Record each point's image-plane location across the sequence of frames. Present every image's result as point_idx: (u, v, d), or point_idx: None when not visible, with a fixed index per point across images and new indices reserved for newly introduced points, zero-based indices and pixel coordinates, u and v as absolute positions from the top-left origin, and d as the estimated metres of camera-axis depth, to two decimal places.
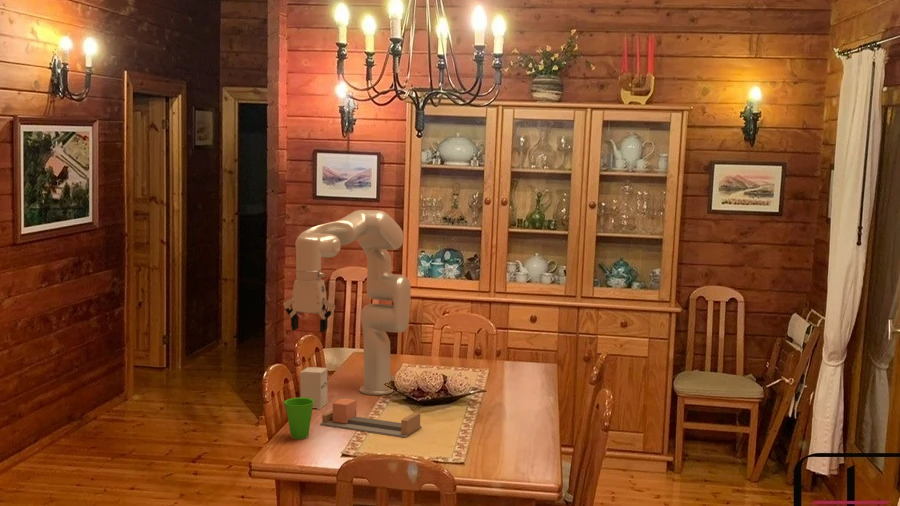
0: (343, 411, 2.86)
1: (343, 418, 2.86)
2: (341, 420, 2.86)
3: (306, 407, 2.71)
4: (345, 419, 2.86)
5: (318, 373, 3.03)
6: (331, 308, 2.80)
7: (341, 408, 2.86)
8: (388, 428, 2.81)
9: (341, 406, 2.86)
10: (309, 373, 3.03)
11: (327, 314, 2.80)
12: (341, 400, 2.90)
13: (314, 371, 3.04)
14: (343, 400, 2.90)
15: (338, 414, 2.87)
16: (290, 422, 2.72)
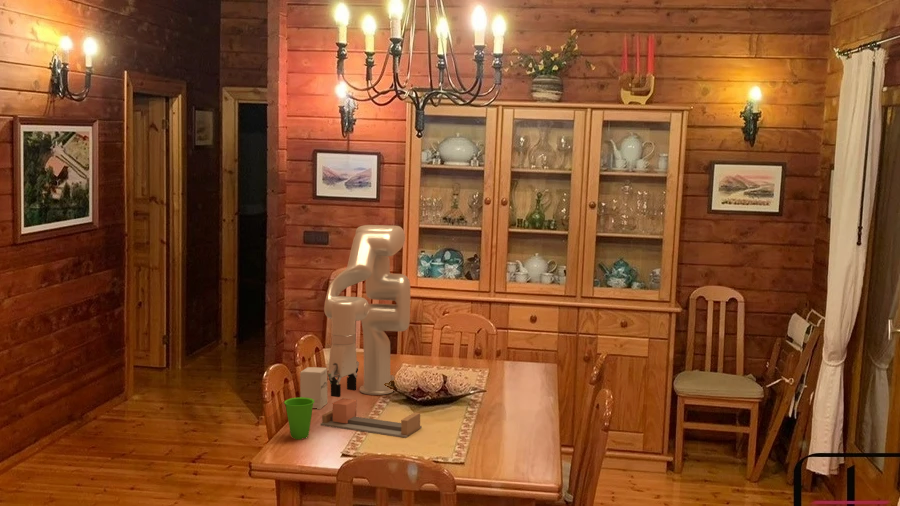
0: (343, 411, 2.86)
1: (343, 418, 2.86)
2: (341, 420, 2.86)
3: (306, 407, 2.71)
4: (345, 419, 2.86)
5: (318, 373, 3.03)
6: (357, 365, 2.94)
7: (341, 408, 2.86)
8: (388, 428, 2.81)
9: (341, 406, 2.86)
10: (309, 373, 3.03)
11: (356, 371, 2.93)
12: (341, 400, 2.90)
13: (314, 371, 3.04)
14: (343, 400, 2.90)
15: (338, 414, 2.87)
16: (290, 422, 2.72)
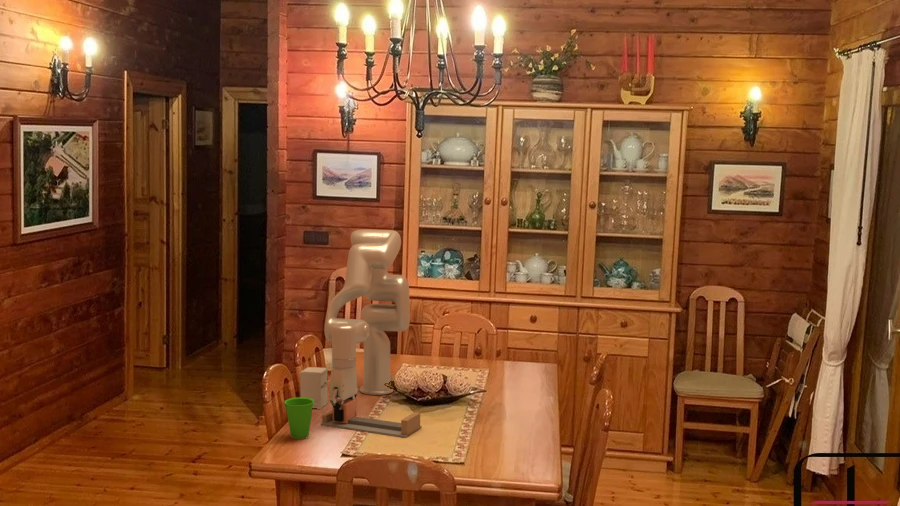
0: None
1: None
2: None
3: (306, 407, 2.71)
4: (345, 419, 2.86)
5: (318, 373, 3.03)
6: (356, 391, 2.95)
7: None
8: (388, 428, 2.81)
9: None
10: (309, 373, 3.03)
11: (355, 397, 2.93)
12: None
13: (314, 371, 3.04)
14: None
15: None
16: (290, 422, 2.72)
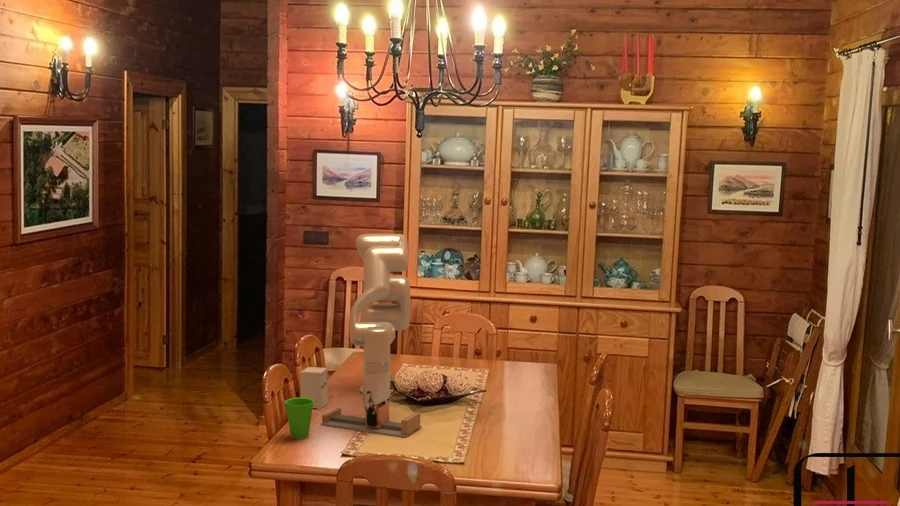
0: None
1: None
2: None
3: (306, 407, 2.71)
4: (378, 424, 2.81)
5: (318, 373, 3.03)
6: None
7: None
8: (388, 428, 2.81)
9: None
10: (309, 373, 3.03)
11: (387, 401, 2.88)
12: None
13: (314, 371, 3.04)
14: None
15: None
16: (290, 422, 2.72)
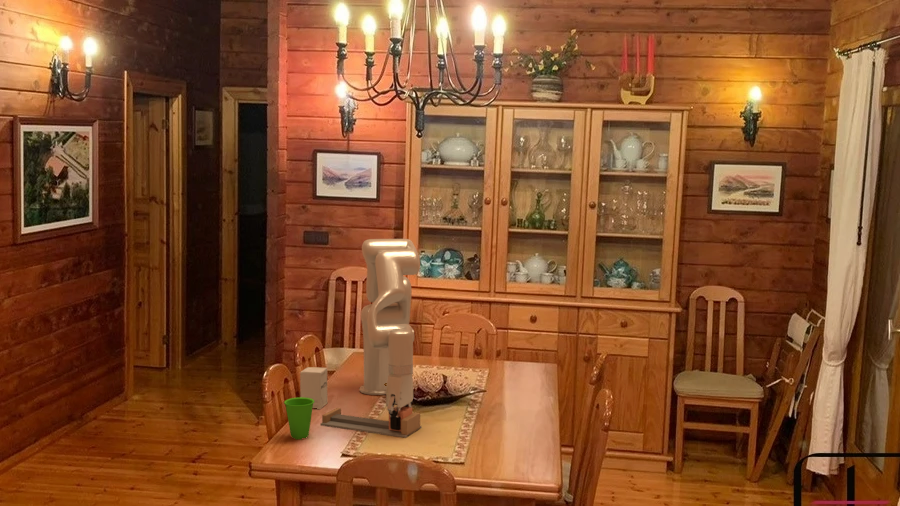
0: None
1: (400, 426, 2.78)
2: None
3: (306, 407, 2.71)
4: None
5: (318, 373, 3.03)
6: None
7: None
8: (388, 428, 2.81)
9: None
10: (309, 373, 3.03)
11: (410, 404, 2.85)
12: None
13: (314, 371, 3.04)
14: None
15: None
16: (290, 422, 2.72)
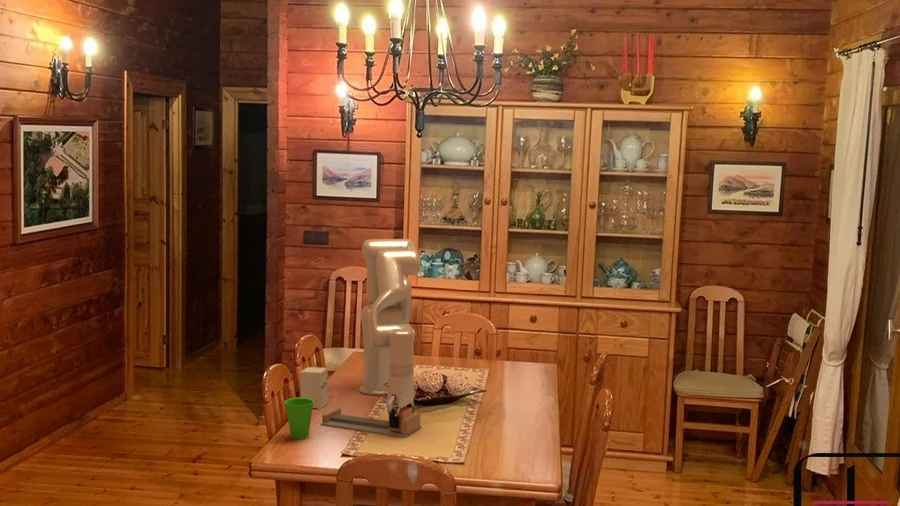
0: (399, 419, 2.78)
1: (400, 426, 2.78)
2: (398, 428, 2.78)
3: (306, 407, 2.71)
4: None
5: (318, 373, 3.03)
6: (414, 394, 2.87)
7: (398, 415, 2.78)
8: (388, 428, 2.81)
9: (398, 414, 2.78)
10: (309, 373, 3.03)
11: (413, 400, 2.86)
12: None
13: (314, 371, 3.04)
14: None
15: None
16: (290, 422, 2.72)
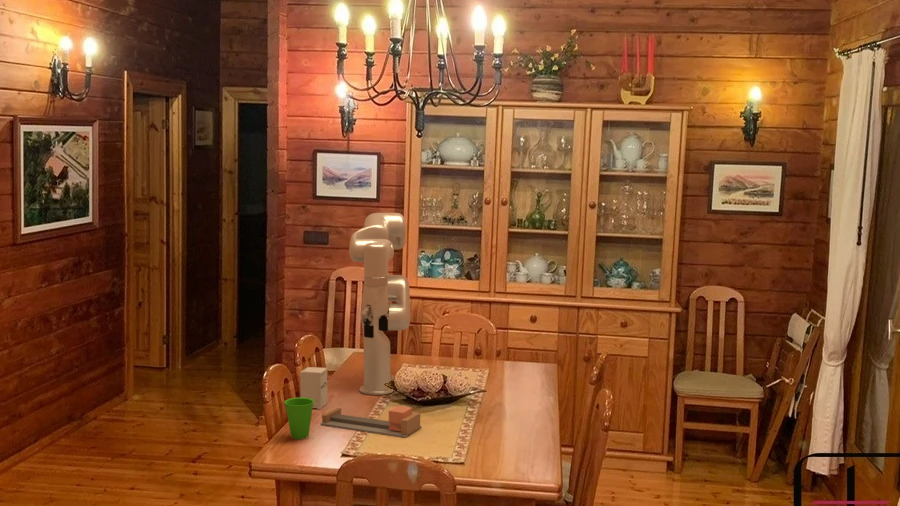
0: (399, 419, 2.78)
1: (400, 426, 2.78)
2: (398, 428, 2.78)
3: (306, 407, 2.71)
4: None
5: (318, 373, 3.03)
6: (389, 306, 2.98)
7: (398, 415, 2.78)
8: (388, 428, 2.81)
9: (398, 414, 2.78)
10: (309, 373, 3.03)
11: (388, 313, 2.97)
12: (397, 408, 2.82)
13: (314, 371, 3.04)
14: (399, 408, 2.82)
15: (394, 422, 2.78)
16: (290, 422, 2.72)
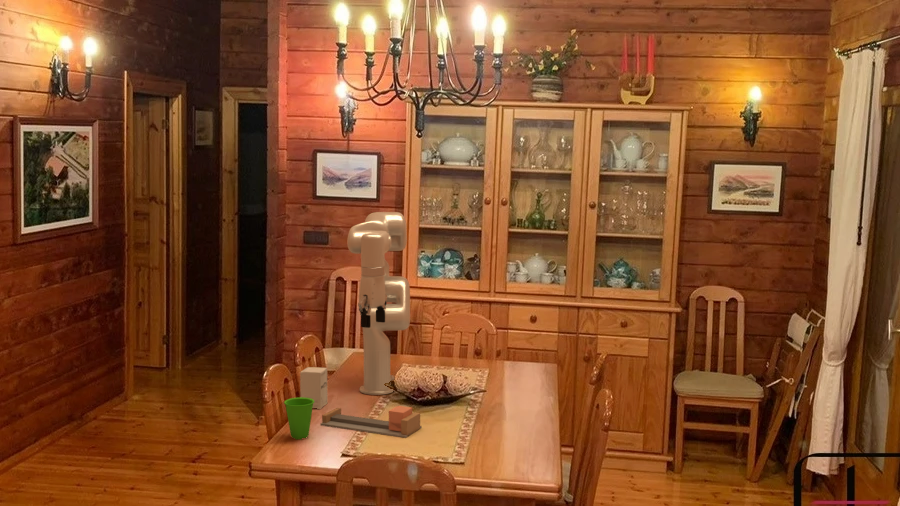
0: (399, 419, 2.78)
1: (400, 426, 2.78)
2: (398, 428, 2.78)
3: (306, 407, 2.71)
4: None
5: (318, 373, 3.03)
6: (386, 298, 2.99)
7: (398, 415, 2.78)
8: (388, 428, 2.81)
9: (398, 414, 2.78)
10: (309, 373, 3.03)
11: (385, 304, 2.98)
12: (397, 408, 2.82)
13: (314, 371, 3.04)
14: (399, 408, 2.82)
15: (394, 422, 2.78)
16: (290, 422, 2.72)
